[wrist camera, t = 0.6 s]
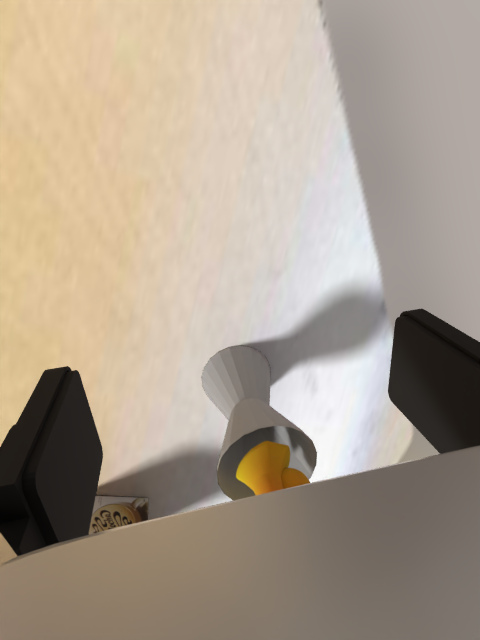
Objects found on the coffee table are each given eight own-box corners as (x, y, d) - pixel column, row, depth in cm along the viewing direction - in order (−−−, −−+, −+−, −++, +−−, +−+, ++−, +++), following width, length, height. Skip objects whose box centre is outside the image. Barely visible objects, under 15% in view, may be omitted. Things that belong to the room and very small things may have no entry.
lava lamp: (189, 397, 46) (251, 918, 15) (217, 335, 43) (367, 805, 12) (253, 414, 49) (422, 877, 18) (284, 356, 46) (546, 779, 15)
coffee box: (73, 528, 51) (38, 677, 36) (79, 492, 49) (45, 636, 34) (141, 530, 53) (134, 670, 39) (150, 496, 51) (147, 631, 37)
